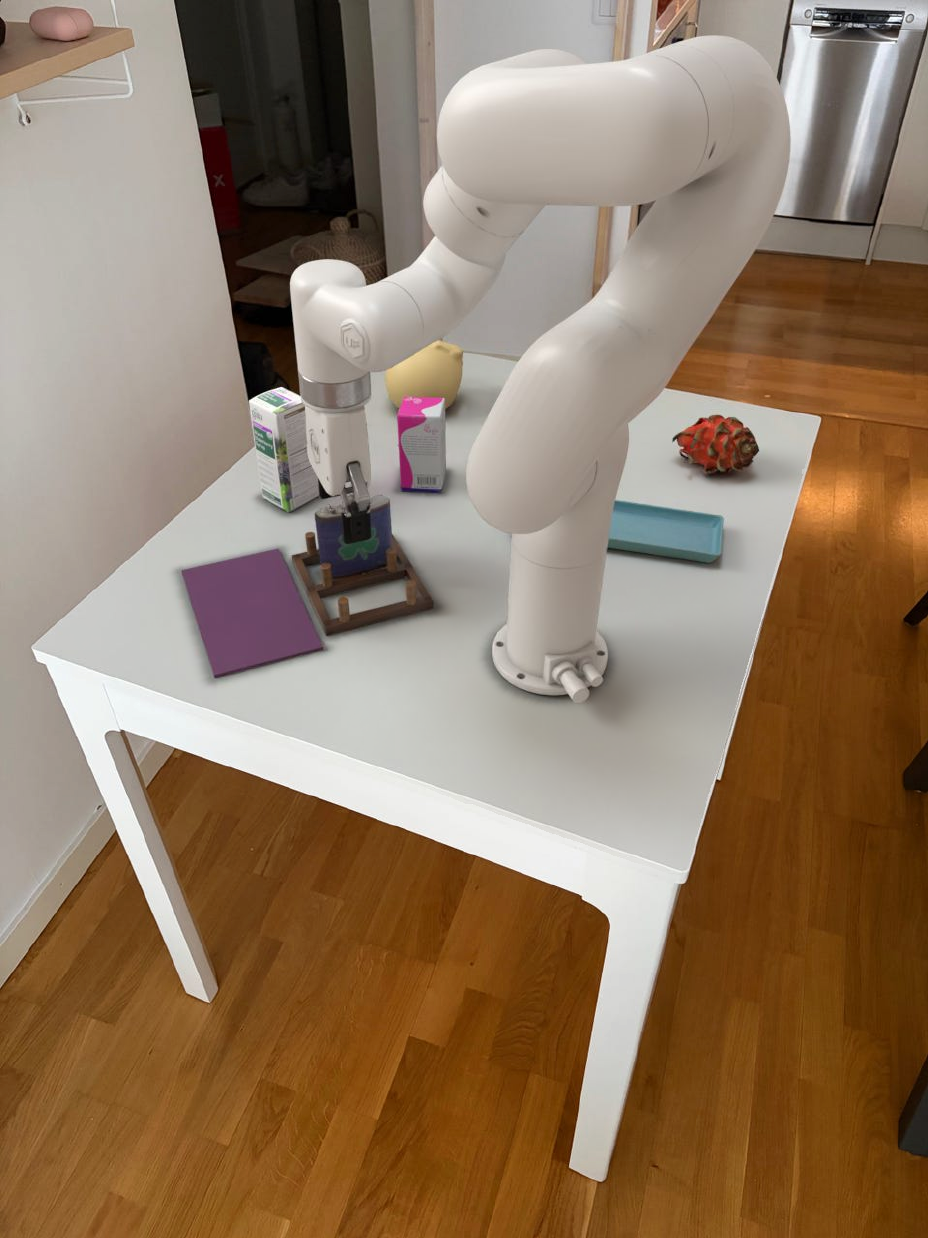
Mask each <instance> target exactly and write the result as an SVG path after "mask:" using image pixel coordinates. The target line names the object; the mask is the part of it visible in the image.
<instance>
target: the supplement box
mask: <svg viewBox="0 0 928 1238" xmlns="http://www.w3.org/2000/svg"><path fill="white" fill-rule="evenodd" d="M396 417H397V418H396V421H397V439H398V442H397V443H398V459H399V475H400V476H399V479H400V490H401V491H402V492H418V493H435V494H436V493H437V494H442V492H443V488H444V485H445V479H446V476H447V447H446V446H447V443H446V439H447V437H446V409H445V398H427V397H404V398H403V401H402V404H401V407H400V409H399V410H398V412H397V415H396Z"/></svg>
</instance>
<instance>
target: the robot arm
mask: <svg viewBox="0 0 928 1238" xmlns="http://www.w3.org/2000/svg"><path fill="white" fill-rule="evenodd" d="M436 129H437V130H436V143H437V151H438V154H439V158H440V162H441V166H440V167H439V169H438V170H437V171H436V173H435V174H434V175H433V177H432V178H431V179H430V181H429V183H428V184H427V185H426V188H425V191H424V194H423V202H422V206H423V213H424V215H425V219H426V222H427V224H428V227H429V228H430V230H431V231H432V233H433V234H434V236H433V237H432V239H431V240H430V242H429V243H428V244H427V246H426V247H425V249H424V250H423V251H422V252H421V254H420V255H419V256H418V257H417V259H416V260H415V261H414V262H413V263H412V264H410V265H409V266H408V267H405V268H403V269H401V270H399V271H397V272H394V273H393V274H391V275H389V276H387V277H385V278H383V279H381V280H379V281H376V282H374V283H371V284H368V285H367V280H366V277H365V275H364V273H363V271H362V270H361V269H360V267H358V266H357V265H355V264H353V263H352V262H349V261H345V260H340V259H333V258H332V259H330V258H326V259H324V258H323V259H318V260H312V261H308V262H304V263H302V264H301V265H299V266H297V268H295V270H294V271H293V272H292V274H291V277H290V281H289V293H290V302H291V312H292V323H293V333H294V343H295V352H296V364H297V374H298V385H299V396H301V401H302V403H303V404H304V405H305V418H306V439H307V454H308V458H309V461H310V463H311V465H312V467H313V469H314V471H315V473H316V475H317V477H318V487H319V496H318V497H320V499H321V500H327V499H331V498H337V497H340V501H341V505H343V509H344V513H341V517H342V531H343V541H344V543H345V544H351V543H356V542H360V541H365V540H369V539H370V538H371V518H370V512H371V510H370V505H369V504H370V502H369V501H370V498H371V496H370V491H369V488H370V487H371V483H372V482H371V479H372V471H371V454H370V443H369V432H368V422H367V415H366V409H365V406H366V405H367V404H368V403H369V402H370V401H371V400H372V380H371V379H372V377H371V376H372V375H371V373H382V372H386V370H388V369H390V368H392V367H394V366H396V365H397V364H399V363H401V362H403V361H404V360H406V359H408V358H409V357H411V356H413V355H414V354H415V353H417V352H419V351H420V350H422V349H424V348H425V347H427V346H429V345H430V344H432V343H434V342H436V341H438V340H441V339H443V338H445V337H446V336H448V335H449V334H450V333H452V332H453V331H454V330H455V329H456V328H457V327H458V326H460V324H462V322H463V321H464V320H465V319H466V318H467V316H468V315H470V313H471V312H472V311H473V310H474V308H475V307H476V306H477V305H478V304H479V302H480V301H481V300H482V299H483V298H484V297H485V295H486V294H487V293H488V292H489V290H491V288H492V287H493V285H494V284H495V282H496V281H497V279H498V277H499V276H500V273H501V271H502V267H503V266H504V263H505V261H506V255H507V253H508V252H509V250H510V249H511V248H512V246H513V245H514V244H515V243H516V242H517V240H519V238H520V237H521V235H522V234H523V233H524V232H525V230H526V229H527V228H528V227H529V226H530V224H532V222H533V221H534V220H535V219H536V217H537V216H538V215H539V214H540V213H541V211H542V210H543V209H544V208H545V207H546V206H566V207H570V206H571V207H632V206H639V205H645V204H648V203H652V202H654V203H653V204H652V206H651V207H650V208H649V210H648V211H647V212H646V214H645V215H644V217H643V218H642V219H641V221H640V222H639V223H638V225H637V226H636V228H635V230H634V231H633V233H632V235H631V236H630V237H629V239H628V241H627V242H626V245H625V247H624V249H623V251H622V252H621V255H620V257H619V258H618V259H617V262H616V263H615V264H614V266H613V268H612V270H611V271H610V273H609V274H608V276H607V278H606V279H605V281H604V282H603V284H602V285H601V287H600V288H599V290H598V291H597V292H596V293H595V295H594V297H593V298H591V299H590V301H588V302H587V303H585V304H584V305H583V306H582V307H581V308H579V309H577V311H575V312H574V313H572V314H571V315H569V316H568V317H567V318H565V319H564V320H562V321H561V322H559V323H558V324H556V325H554V326H553V327H551V328H550V329H549V330H548V331H546V332H544V333H543V334H542V335H540V336H539V337H538V338H537V339H536V340H535V341H534V342H533V343H532V344H531V345H530V346H529V347H528V349H527V350H526V351H525V352H524V353H523V355H521V357H520V358H519V360H518V362H517V363H516V364H515V365H514V367H513V369H512V371H511V372H510V374H509V376H508V377H507V379H506V381H505V383H504V385H503V387H502V389H501V391H500V392H499V395H498V396H497V399H496V400H495V402H494V404H493V406H492V408H491V410H490V412H489V414H488V415H487V417H486V419H485V421H484V423H483V424H482V427H481V429H480V431H479V432H478V435H476V438H475V440H474V441H473V444H472V446H471V449H470V452H469V454H468V457H467V461H466V467H465V484H466V489H467V495H468V497H469V500H470V502H471V504H472V506H473V508H474V510H475V511H476V513H477V514H478V516H479V517H480V518H481V519H482V520H483V521H484V522H485V523H486V524H487V525H489V526H490V527H492V528H494V530H495V529H496V530H497V531H500V532H502V533H506V534H510V535H511V540H510V560H509V561H510V562H509V584H508V603H507V604H508V605H507V606H508V607H507V623H506V624H504V625H503V626H502V627H501V628H500V629H499V630H498V631H497V632H496V635H495V636H494V638H493V641H492V647H491V657H492V661H493V665H494V667H495V668H496V670H497V672H498V673H499V674H500V675H501V677H503V679H505V680H506V681H507V682H508V683H509V684H511V685H513V686H515V687H517V688H518V689H521V690H524V691H527V692H529V693H533V694H538V695H543V696H545V695H546V696H564V695H568V696H569V697H570V699H571V701H572V702H573V703H575V704H580V703H582V702H584V701H586V700H587V699H588V698H589V696H590V690H589V689H588V688H589V687H591V686H592V687H593V688H596V687H599V686H601V685H602V684H603V682H604V678H603V675H604V674H605V671H606V669H607V666H608V659H609V648H608V646H607V643H606V641H605V639H604V637H603V636H602V635H601V634H600V632H599V631H597V630H598V622H599V614H600V607H601V599H602V591H603V583H604V575H605V567H606V559H607V551H608V540H609V532H610V525H611V519H612V513H613V507H614V503H615V500H616V498H617V495H618V490H619V487H620V484H621V480H622V477H623V473H624V469H625V466H626V463H627V457H628V453H629V445H630V428H629V423H631V422H632V421H633V420H635V418H637V416H639V415H640V414H641V413H642V412H643V411H644V410H645V409H646V408H648V407H649V406H650V405H651V404H652V403H653V402H654V401H655V400H656V399H657V398H658V397H659V396H660V395H661V394H662V392H663V391H664V390H665V388H666V387H667V385H668V384H669V382H670V380H671V379H672V377H673V375H674V374H675V373H676V371H677V369H678V367H679V366H680V364H681V363H682V361H683V360H684V358H685V356H686V355H687V353H689V350H690V349H691V348H692V346H693V345H694V343H695V342H696V340H697V339H698V338H699V336H700V334H701V333H702V332H703V330H704V329H705V327H706V326H707V325H708V323H709V321H710V320H711V319H712V317H713V315H714V314H715V312H716V311H717V309H718V307H719V306H720V305H721V303H722V301H723V300H724V298H725V296H726V295H727V294H728V292H729V290H730V289H731V287H732V286H733V284H734V283H735V282H736V279H738V277H739V275H740V274H741V273H742V271H743V270H744V268H745V267H746V265H747V264H748V262H749V261H750V259H751V258H752V256H753V254H754V253H755V251H756V249H757V248H758V246H759V244H760V242H761V241H762V239H763V237H764V236H765V234H766V232H767V231H768V228H769V226H770V224H771V222H772V220H773V218H774V215H775V214H776V212H777V208H778V205H779V203H780V200H781V197H782V195H783V192H784V188H785V185H786V182H787V181H786V180H787V176H788V171H789V165H790V159H791V157H790V156H791V140H792V139H791V138H792V137H791V124H790V115H789V111H788V106H787V103H786V99H785V95H784V93H783V90H782V87H781V85H780V83H779V80H778V78H777V76H776V74H775V72H774V71H773V68H772V67H771V65H770V64H769V62H767V60H766V59H765V58H764V57H763V56H762V54H761V53H760V52H759V51H758V50H756V49H755V48H754V47H752V46H751V45H750V44H748V43H747V42H745V41H742V40H741V39H738V38H735V37H731V36H727V35H718V34H715V35H700V36H695V37H691V38H687V39H684V40H681V41H677V42H674V43H671V44H668V45H666V46H665V45H664V46H662V47H660V48H657V49H654V50H651V51H648V52H646V53H643V54H640V55H637V56H634V57H633V56H632V57H631V58H627V59H623V60H622V59H621V60H615V61H614V60H613V61H605V62H595V63H587V62H586V61H584V59H582V58H580V57H579V56H577V55H575V54H573V53H571V52H568V51H566V50H562V49H556V48H541V49H535V50H532V51H527V52H523V53H520V54H516V55H513V56H510V57H506V58H503V59H500V60H496V61H493V62H490V63H486V64H482V65H480V66H479V67H476V68H474V69H472V70H470V71H468V73H466V74H465V75H463V76H462V77H461V78H460V79H459V80H458V81H457V82H456V83H455V84H454V85H453V86H452V88H451V89H450V91H449V92H448V94H447V96H446V97H445V99H444V102H443V104H442V106H441V109H440V112H439V116H438V120H437V127H436ZM347 483H350V485H351V486H348V487H346V485H347ZM352 493H354V494H355V502H352V503H351V504H350V505H349V501H348V499H349V497H348V495H350V494H352Z"/></svg>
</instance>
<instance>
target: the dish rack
mask: <svg viewBox="0 0 928 1238" xmlns="http://www.w3.org/2000/svg"><path fill="white" fill-rule="evenodd" d="M304 538H305V546H306V551H305V552H304V551H303V552H300V553H295V554H291V556H290V557H291V563H292V565H293V567H294V570H295V571H296V574H297V576H298V578H299V580H300V583H301V585H302V587H303V589H304V591H305V593H306V595H307V597H308V600H309V602H310V604H311V606H312V608H313V610H314V613H315V615H316V618H317V620H318V621H319V624H320V626H321V628H322V630H323V632H324V635H325V636H331V635H335V634H339V633H342V632H346V631H350V630H355V629H359V628H361V627H367V626H369V625H370V626H371V625H373V624H377V623H381V622H385V621H389V620H393V619H397V618H401V617H406V616H408V615H409V616H410V615H413V614H417V613H420V612H425V611H428V610H432V609H434V608H435V601H434V598H433V597H432V595H431V594H430V592H429V590H428V589H427V588H426V586H425V584H424V583H423V581H422V579H421V578H420V576H419V575H418V572H417V571H416V569H415V568H414V566H413V565H412V563H411V561H410V560H409V558H408V557H407V555H406V553H405V552H404V550H403V548H402V547H401V545H400V544H399V542H398V541H397V539H396V537H395V536H394V534H393V533H392V542H393V548H388V549H387V550H386V557H387V566H386V567H383V568H379V569H376V570H374V571H370V572H367V573H362V574H359V575H355V576H351V577H346V578H342V579H337V580H333V579H332V570H331V564H329V563H323V564H322V565H321V564H320V573H321V579H322V580H321V583H317V584H314V582H313V580H312V577H311V576H310V573H309V572H308V569H307V567H306V566H310V565H313V564H319V563H320V555H319V548H318V547H317V537H316V532H314V531H307V532H305V534H304ZM403 578H406V579H407V581H405V600H403V601H399V602H398V601H397V602H394V603H390V604H387V605H383V606H379V607H375V608H370V609H367V610H363V611H362V610H361V611H359V612H355V613H351V611H350V601H349V598H348V597H347V596H340V597H338V599H337V607H338V608H337V609H338V617H335V618H331V617H330V615H329V613H328V611H327V609H326V607H325V605H324V603H323V600H322V599H321V598H326V597H329V596H334V595H338V594H342V593H345V592H350V591H353V590H359V589H362V588H366V587H371V586H375V585H380V584H383V583H387V582H390V581H395V580H400V579H403Z"/></svg>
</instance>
